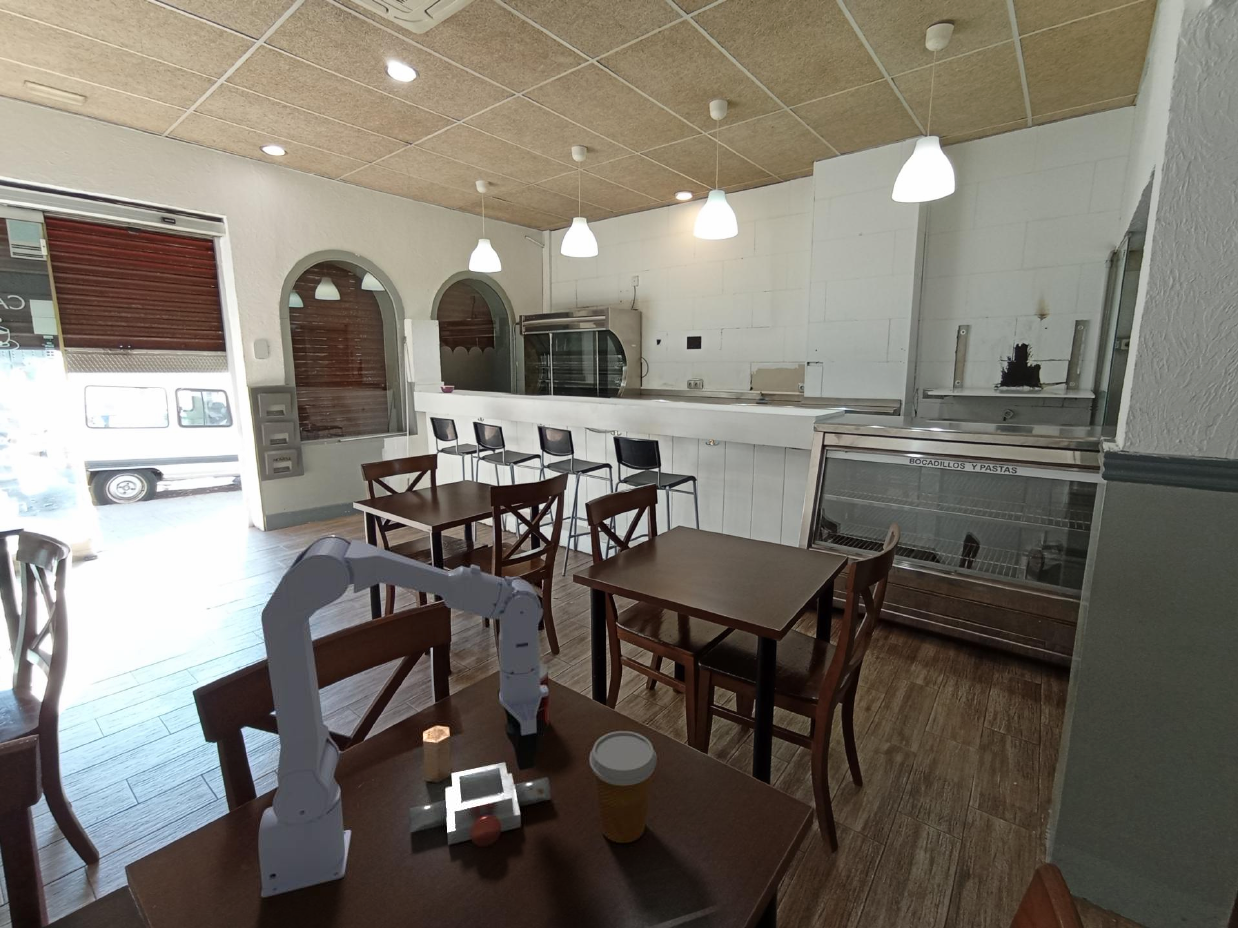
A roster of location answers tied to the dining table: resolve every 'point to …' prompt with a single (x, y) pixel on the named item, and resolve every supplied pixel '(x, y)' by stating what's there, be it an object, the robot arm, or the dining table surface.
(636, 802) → the disposable coffee cup
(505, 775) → the valve body
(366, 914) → the dining table surface
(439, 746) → the wooden hexagonal prism
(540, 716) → the canned food
